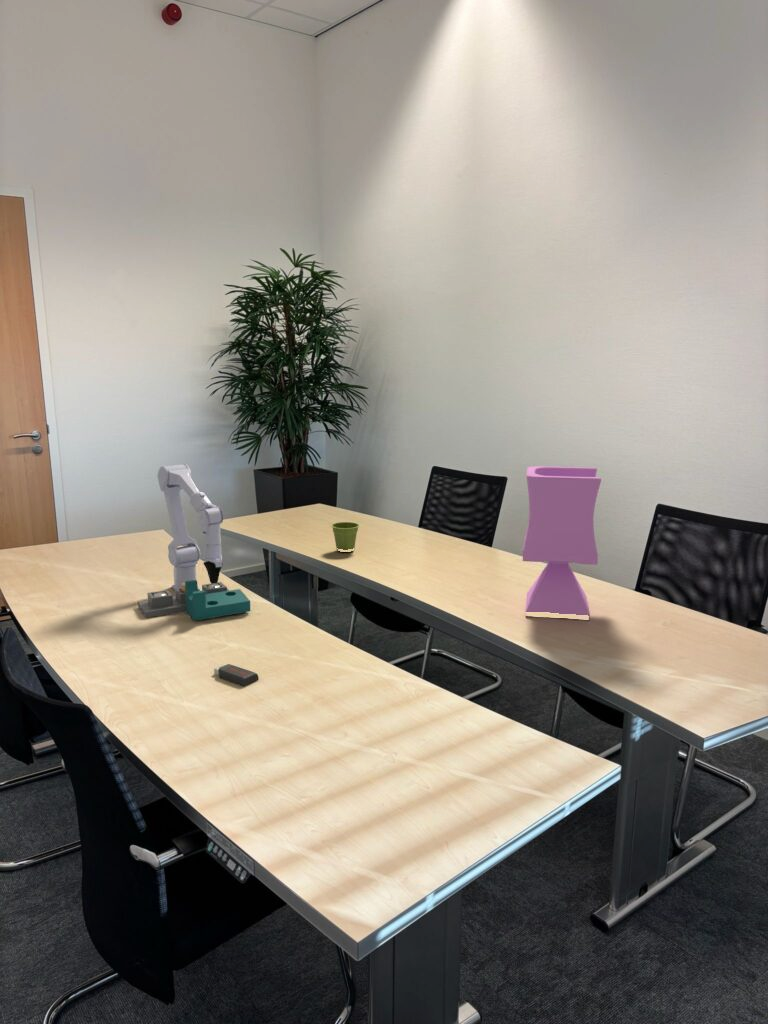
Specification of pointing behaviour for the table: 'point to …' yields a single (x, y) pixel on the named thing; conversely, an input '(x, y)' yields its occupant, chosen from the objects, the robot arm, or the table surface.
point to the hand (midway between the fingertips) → (214, 582)
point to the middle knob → (183, 587)
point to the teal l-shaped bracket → (213, 602)
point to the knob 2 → (213, 586)
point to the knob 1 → (159, 594)
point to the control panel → (171, 601)
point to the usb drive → (236, 674)
